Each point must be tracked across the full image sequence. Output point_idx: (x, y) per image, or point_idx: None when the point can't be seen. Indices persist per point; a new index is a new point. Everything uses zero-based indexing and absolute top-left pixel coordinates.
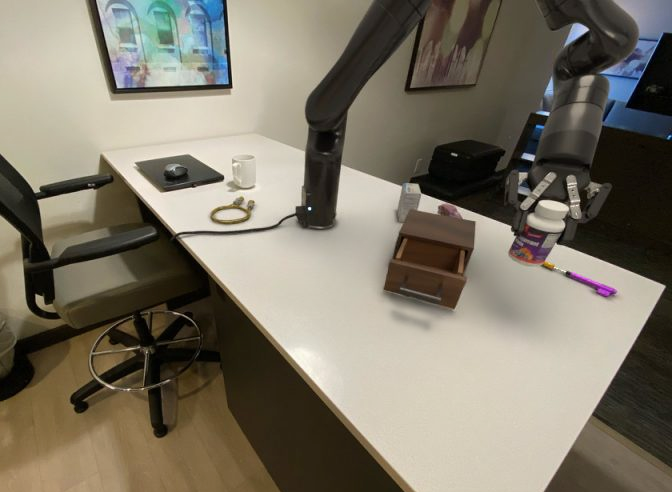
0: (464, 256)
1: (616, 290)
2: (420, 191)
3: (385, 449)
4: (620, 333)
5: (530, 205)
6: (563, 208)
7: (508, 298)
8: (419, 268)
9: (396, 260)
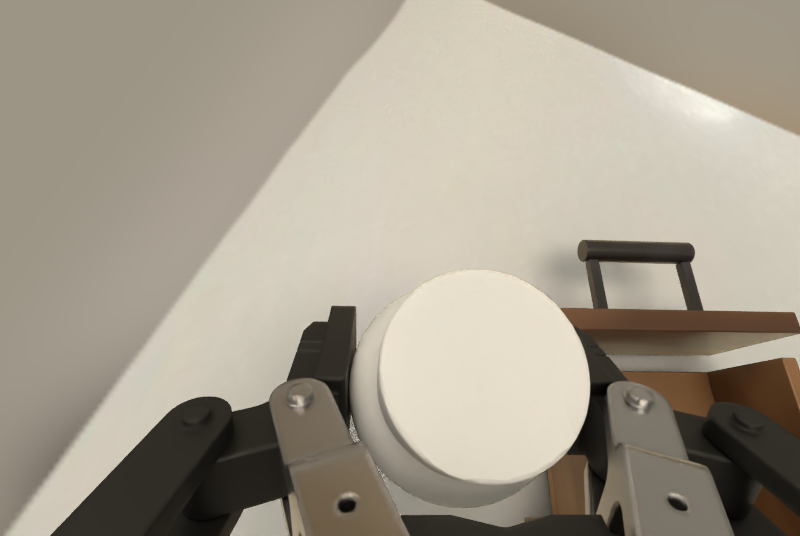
0: None
1: None
2: None
3: (538, 27)
4: (86, 459)
5: (611, 409)
6: (423, 323)
7: None
8: (702, 311)
9: (783, 327)
